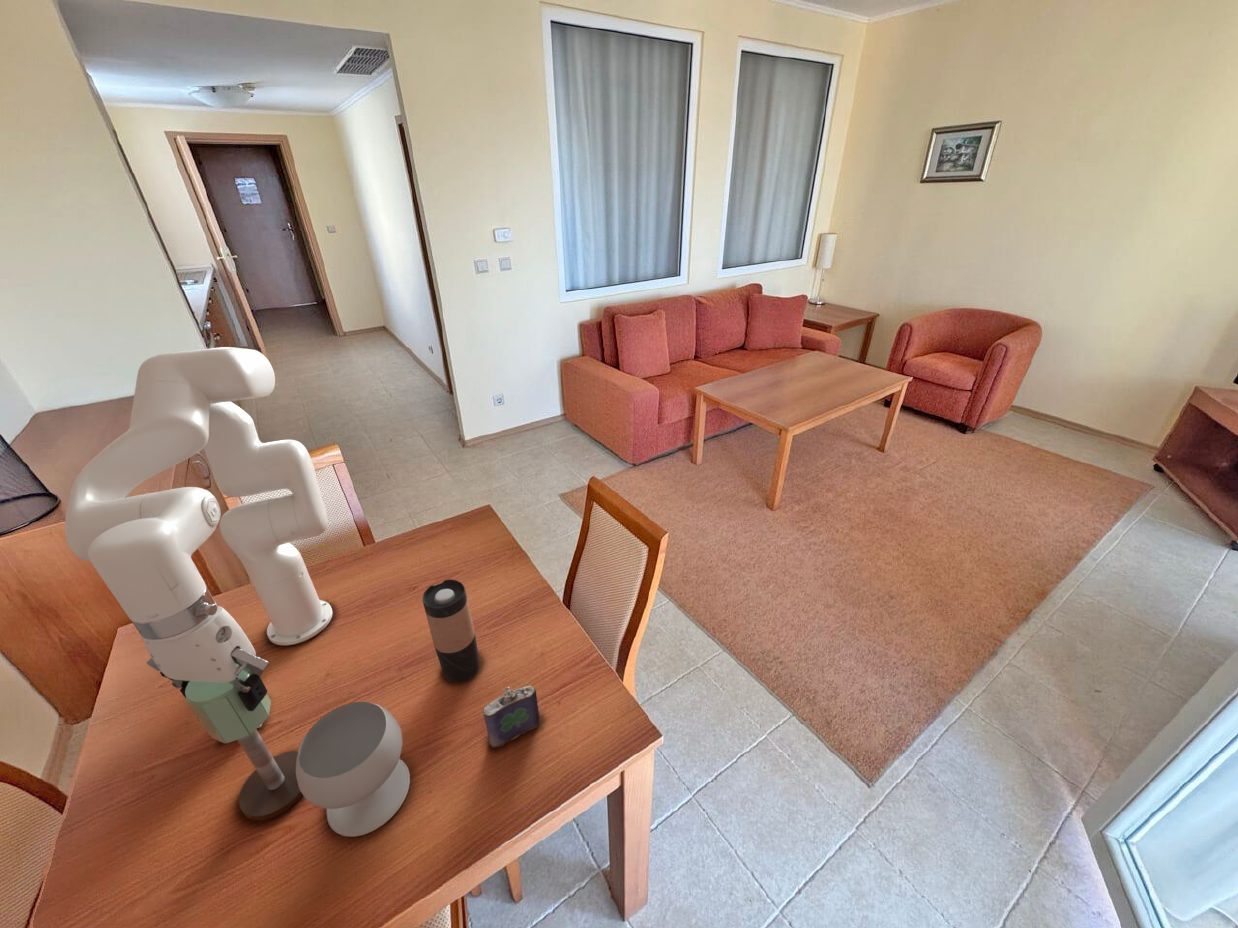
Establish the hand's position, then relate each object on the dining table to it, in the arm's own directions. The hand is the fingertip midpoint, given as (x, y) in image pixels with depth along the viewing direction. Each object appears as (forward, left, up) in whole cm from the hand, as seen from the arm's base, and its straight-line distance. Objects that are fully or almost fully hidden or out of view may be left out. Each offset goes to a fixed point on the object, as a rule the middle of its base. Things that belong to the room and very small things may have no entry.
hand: (230, 699), depth 70 cm
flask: (+8, +37, -21) cm, 43 cm away
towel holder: (0, 0, -21) cm, 21 cm away
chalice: (+8, +13, -21) cm, 26 cm away
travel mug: (-10, +31, -21) cm, 38 cm away
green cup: (0, 0, -4) cm, 4 cm away
